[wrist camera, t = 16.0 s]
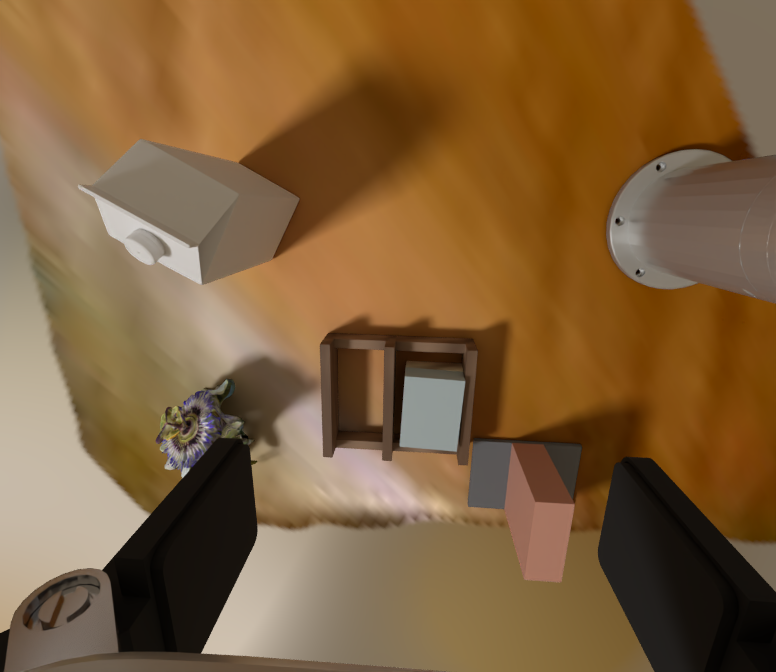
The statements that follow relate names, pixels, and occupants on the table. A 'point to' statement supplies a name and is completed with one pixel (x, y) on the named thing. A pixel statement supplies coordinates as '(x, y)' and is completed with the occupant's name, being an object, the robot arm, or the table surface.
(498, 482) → the slate mat
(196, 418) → the passion flower
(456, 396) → the offcut upper
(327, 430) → the rack
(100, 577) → the robot arm
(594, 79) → the table surface
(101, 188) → the milk carton
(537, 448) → the pink rectangular block
